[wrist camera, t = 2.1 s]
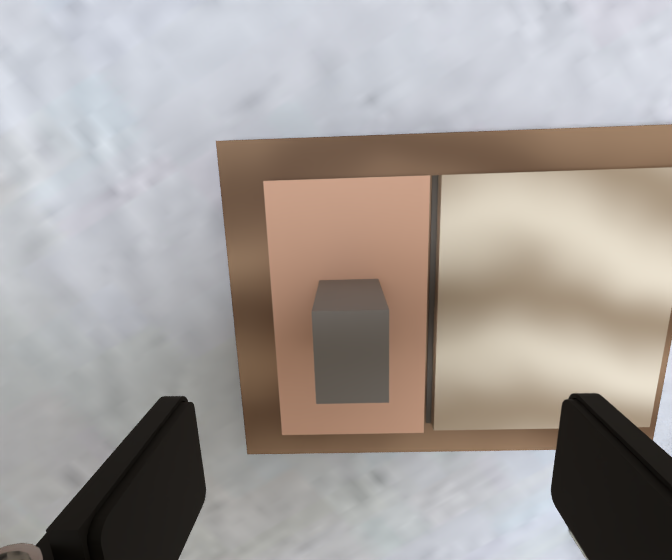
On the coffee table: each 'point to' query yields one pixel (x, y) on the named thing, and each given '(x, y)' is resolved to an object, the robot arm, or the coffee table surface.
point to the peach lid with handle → (349, 302)
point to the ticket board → (486, 277)
